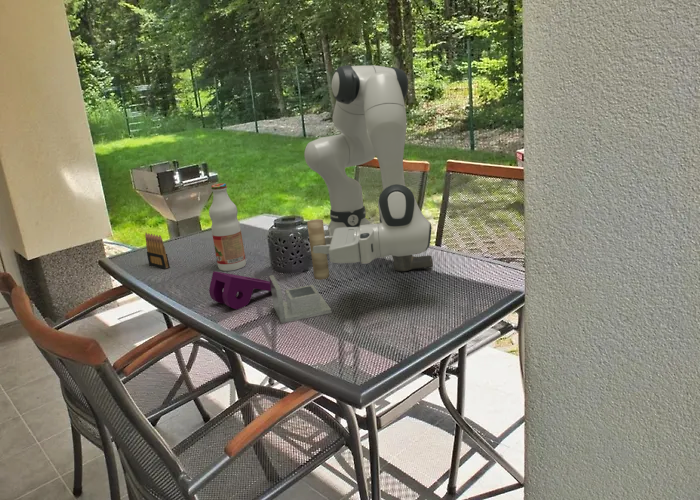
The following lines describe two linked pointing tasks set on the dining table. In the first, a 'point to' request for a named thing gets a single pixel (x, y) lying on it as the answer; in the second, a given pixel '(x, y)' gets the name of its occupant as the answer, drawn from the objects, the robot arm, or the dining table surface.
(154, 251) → the ammunition clip
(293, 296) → the cup bracket
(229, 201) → the fruit juice
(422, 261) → the pipe
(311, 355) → the dining table surface
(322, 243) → the tan wooden cylinder
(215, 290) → the mounting bracket
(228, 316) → the dining table surface
